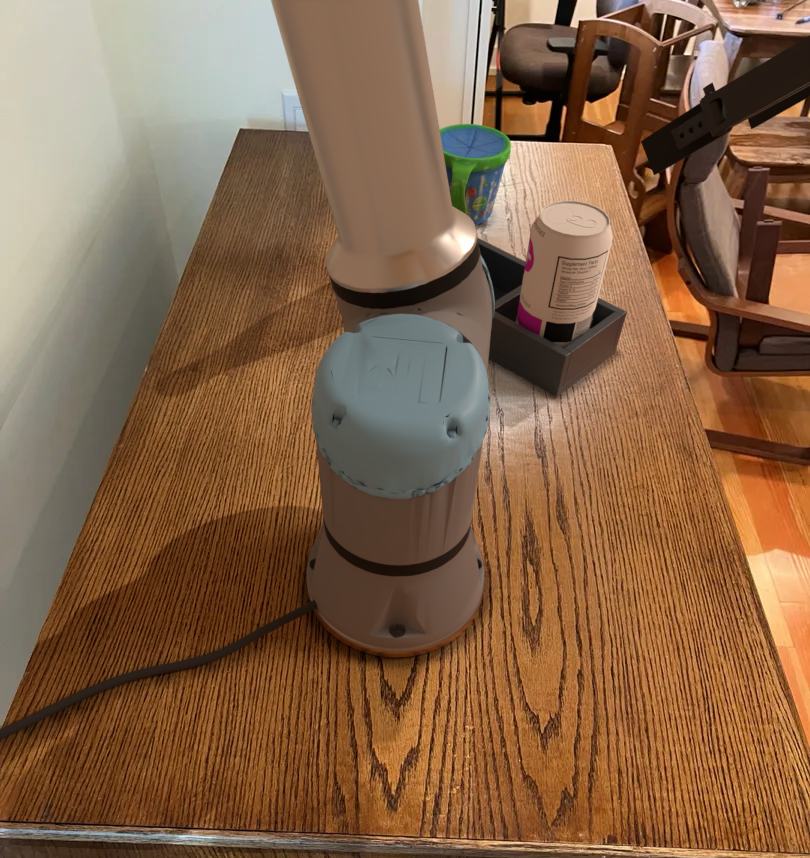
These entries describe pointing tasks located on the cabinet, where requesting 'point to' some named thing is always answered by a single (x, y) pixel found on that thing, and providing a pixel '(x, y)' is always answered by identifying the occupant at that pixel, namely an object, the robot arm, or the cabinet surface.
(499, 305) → the divided box
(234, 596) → the cabinet surface
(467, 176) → the snack cup
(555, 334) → the supplement can
